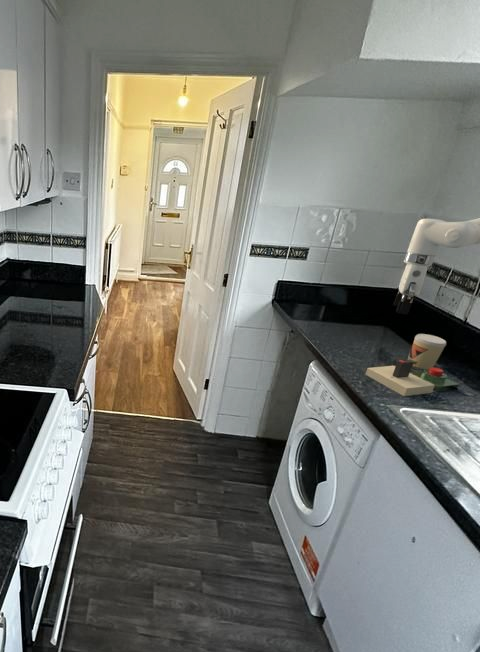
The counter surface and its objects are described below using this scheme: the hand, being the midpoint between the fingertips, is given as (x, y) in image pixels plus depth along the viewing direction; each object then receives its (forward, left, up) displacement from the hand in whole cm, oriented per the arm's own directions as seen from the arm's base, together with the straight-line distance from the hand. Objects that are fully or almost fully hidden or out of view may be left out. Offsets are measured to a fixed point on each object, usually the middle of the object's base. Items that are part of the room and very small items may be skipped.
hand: (400, 309), depth 140 cm
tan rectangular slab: (-9, +1, -24) cm, 25 cm away
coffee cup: (0, -20, -24) cm, 31 cm away
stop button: (-11, -12, -20) cm, 26 cm away
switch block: (-11, -12, -24) cm, 29 cm away
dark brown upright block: (-9, +1, -21) cm, 23 cm away
